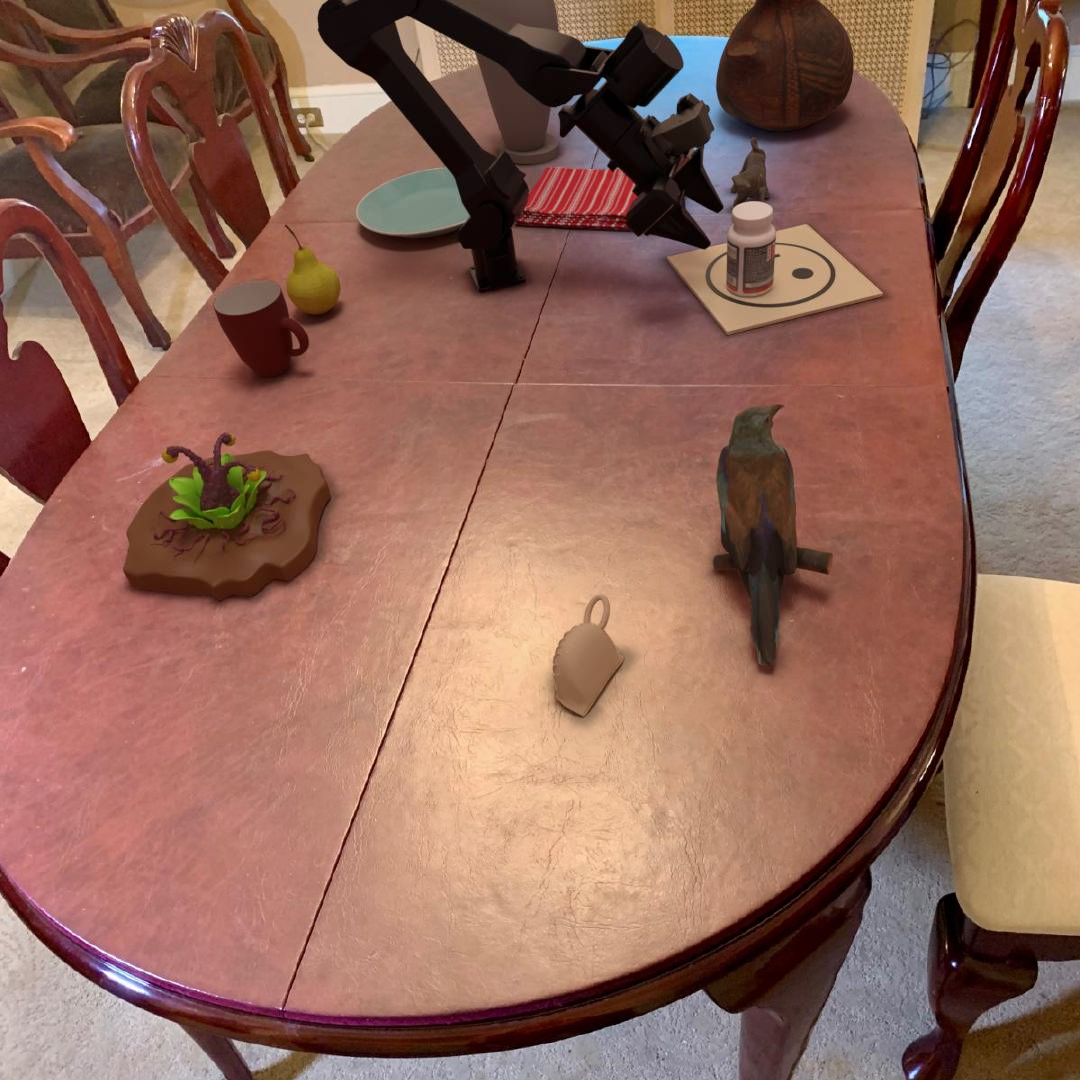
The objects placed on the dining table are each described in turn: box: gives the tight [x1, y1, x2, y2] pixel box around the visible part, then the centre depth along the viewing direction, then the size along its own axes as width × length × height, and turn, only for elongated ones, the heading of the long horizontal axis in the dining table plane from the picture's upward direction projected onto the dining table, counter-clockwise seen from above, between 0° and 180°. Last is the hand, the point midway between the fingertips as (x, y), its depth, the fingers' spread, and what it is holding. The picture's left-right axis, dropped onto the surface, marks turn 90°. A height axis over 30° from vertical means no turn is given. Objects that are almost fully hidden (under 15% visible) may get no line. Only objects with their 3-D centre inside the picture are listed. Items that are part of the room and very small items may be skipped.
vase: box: [474, 0, 560, 165], centre depth 143 cm, size 13×13×35 cm
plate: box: [355, 166, 470, 239], centre depth 142 cm, size 22×22×3 cm
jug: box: [715, 0, 855, 132], centre depth 144 cm, size 22×22×30 cm
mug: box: [212, 279, 310, 378], centre depth 113 cm, size 10×8×10 cm
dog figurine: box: [730, 136, 771, 212], centre depth 131 cm, size 12×6×7 cm, turn 165°
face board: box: [666, 223, 884, 336], centre depth 119 cm, size 20×20×1 cm
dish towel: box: [514, 166, 680, 232], centre depth 138 cm, size 17×24×3 cm
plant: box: [122, 432, 332, 601], centre depth 92 cm, size 20×20×11 cm
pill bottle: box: [726, 200, 777, 297], centre depth 113 cm, size 6×6×10 cm
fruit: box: [284, 223, 342, 316], centre depth 121 cm, size 7×7×12 cm
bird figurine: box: [712, 403, 834, 666], centre depth 79 cm, size 13×10×20 cm
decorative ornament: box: [552, 593, 625, 718], centre depth 76 cm, size 4×8×5 cm, turn 146°
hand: (714, 228), depth 113 cm, fingers open, 9 cm apart
